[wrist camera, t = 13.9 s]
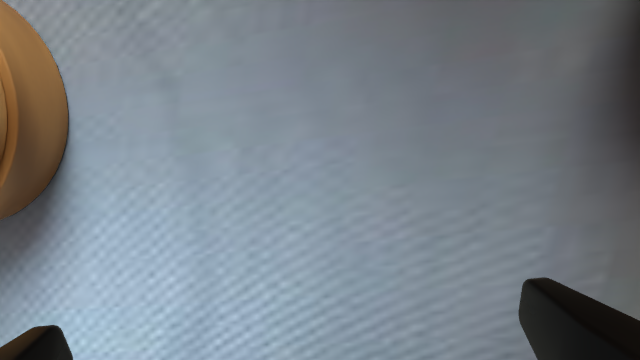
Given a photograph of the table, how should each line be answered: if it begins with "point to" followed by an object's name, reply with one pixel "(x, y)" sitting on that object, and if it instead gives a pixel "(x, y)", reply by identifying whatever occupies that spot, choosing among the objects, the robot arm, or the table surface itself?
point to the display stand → (28, 113)
